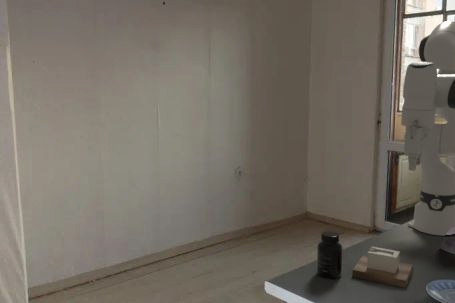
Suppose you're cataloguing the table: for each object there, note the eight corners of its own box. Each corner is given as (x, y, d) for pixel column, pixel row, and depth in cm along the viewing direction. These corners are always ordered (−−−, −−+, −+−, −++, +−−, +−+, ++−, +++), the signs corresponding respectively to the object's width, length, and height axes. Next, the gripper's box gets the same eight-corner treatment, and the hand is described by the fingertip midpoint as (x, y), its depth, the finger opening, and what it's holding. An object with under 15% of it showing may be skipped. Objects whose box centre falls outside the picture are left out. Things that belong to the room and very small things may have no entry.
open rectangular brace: (398, 266, 128) (399, 250, 127) (395, 273, 124) (396, 256, 123) (371, 261, 132) (372, 245, 131) (367, 267, 127) (367, 251, 127)
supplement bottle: (322, 267, 132) (324, 228, 130) (345, 273, 128) (347, 232, 126) (312, 275, 127) (313, 234, 125) (335, 282, 123) (337, 239, 121)
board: (362, 261, 137) (362, 255, 136) (412, 271, 130) (412, 264, 129) (352, 276, 126) (352, 269, 126) (405, 287, 119) (406, 280, 119)
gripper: (425, 123, 119) (421, 174, 121) (433, 117, 136) (430, 163, 138) (400, 121, 122) (396, 172, 124) (411, 116, 139) (408, 161, 142)
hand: (414, 167), depth 131 cm, fingers open, 8 cm apart
